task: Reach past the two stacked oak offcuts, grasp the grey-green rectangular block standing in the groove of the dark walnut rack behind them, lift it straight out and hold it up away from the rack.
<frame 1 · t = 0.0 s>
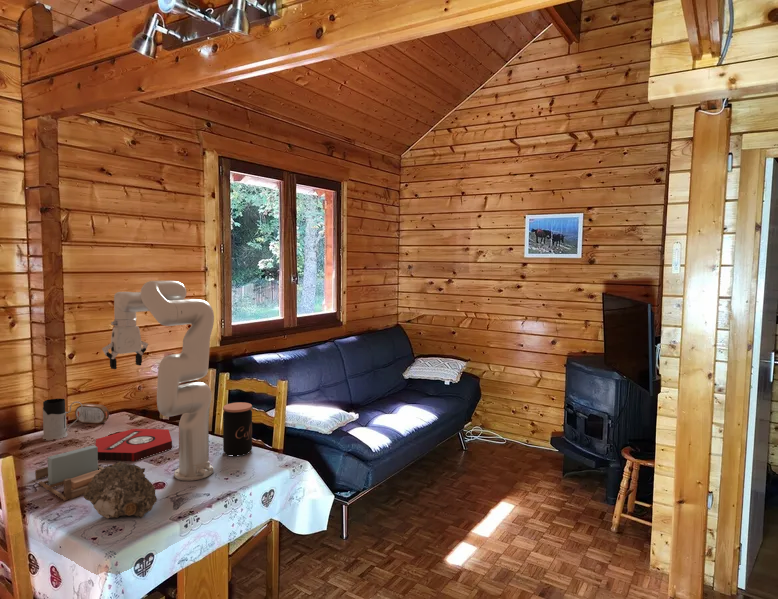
hand: (126, 366, 198), 31 cm above the table, tool pointing down, fingers open, 9 cm apart
grey-green rectangular block: (73, 478, 169), resting in rack
rock: (132, 510, 148), on the table
tin: (91, 423, 227), on the table
red flat hexagonal block: (134, 449, 197), on the table
coffee jar: (237, 452, 195), on the table
rack: (82, 482, 165), on the table
offcut low: (89, 488, 162), on the table
offcut top: (88, 482, 162), point 2 cm above the table
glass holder: (63, 436, 209), on the table
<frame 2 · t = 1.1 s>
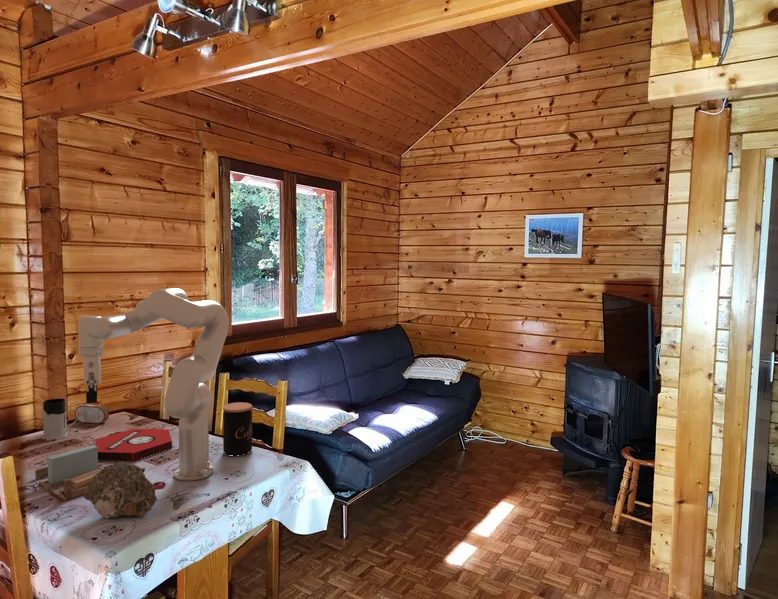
hand: (91, 399, 178), 24 cm above the table, tool pointing down, fingers open, 9 cm apart
offcut low: (89, 488, 162), on the table, touching offcut top
offcut top: (88, 482, 162), point 2 cm above the table, touching offcut low
everything else where it was.
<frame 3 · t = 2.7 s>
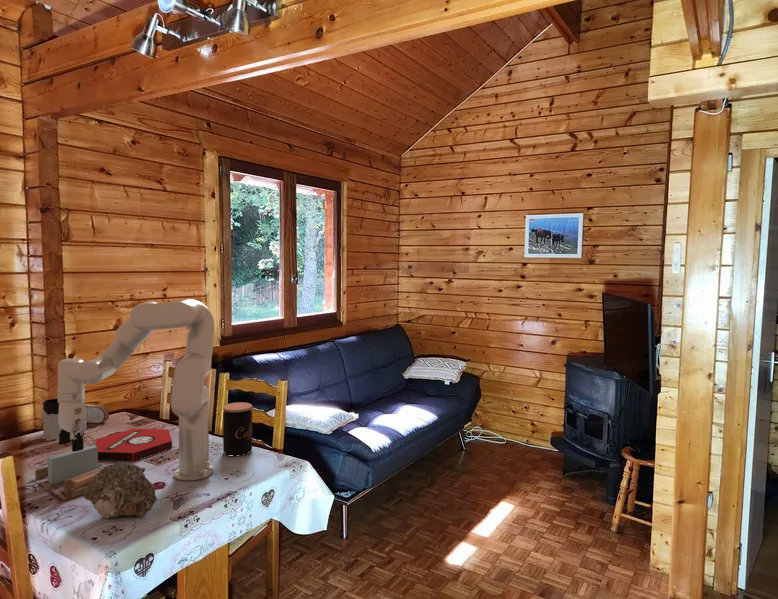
hand: (71, 447, 168), 11 cm above the table, tool pointing down, fingers open, 9 cm apart
nothing on the table moved.
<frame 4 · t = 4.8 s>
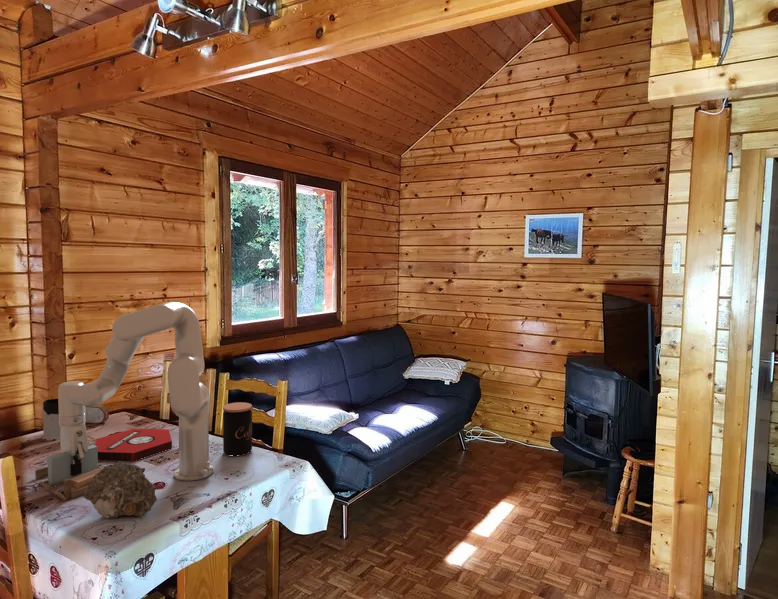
hand: (73, 472, 169), 2 cm above the table, tool pointing down, fingers closed on grey-green rectangular block, 3 cm apart
grey-green rectangular block: (73, 477, 169), resting in rack, touching gripper
offcut low: (89, 488, 163), on the table
offcut top: (89, 481, 162), point 2 cm above the table
everything else where it was.
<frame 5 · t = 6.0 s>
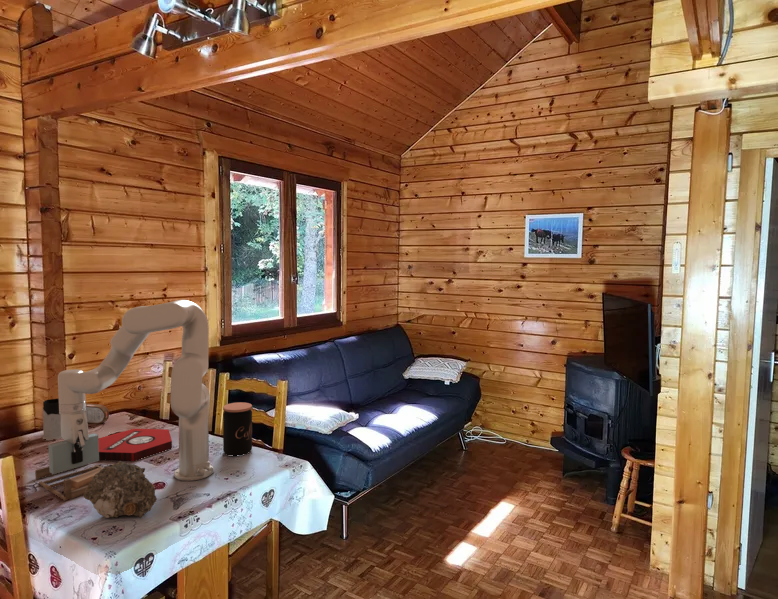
hand: (74, 461, 168), 6 cm above the table, tool pointing down, fingers closed on grey-green rectangular block, 3 cm apart
grey-green rectangular block: (75, 466, 169), point 4 cm above the table, touching gripper
offcut low: (89, 488, 163), on the table, touching offcut top
offcut top: (88, 481, 163), point 2 cm above the table, touching offcut low
everything else where it was.
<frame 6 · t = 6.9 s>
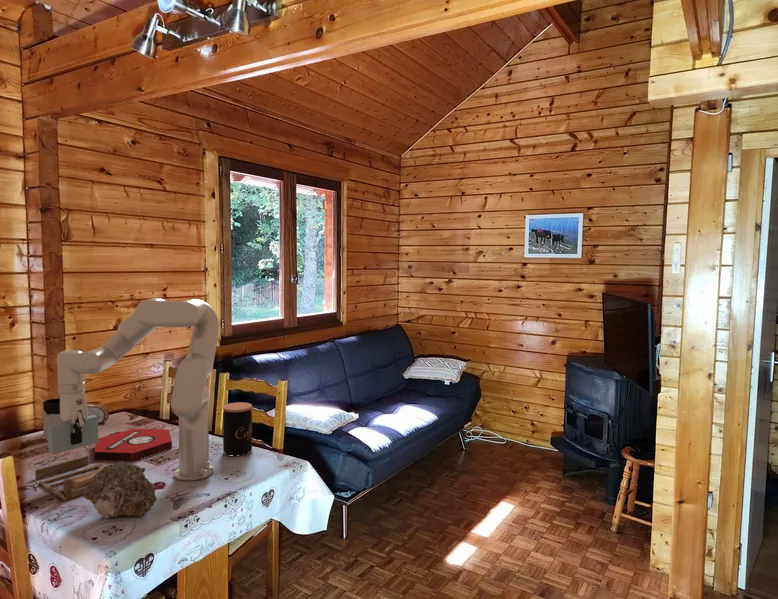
hand: (74, 442, 168), 12 cm above the table, tool pointing down, fingers closed on grey-green rectangular block, 3 cm apart
grey-green rectangular block: (74, 447, 168), point 10 cm above the table, touching gripper
everything else where it was.
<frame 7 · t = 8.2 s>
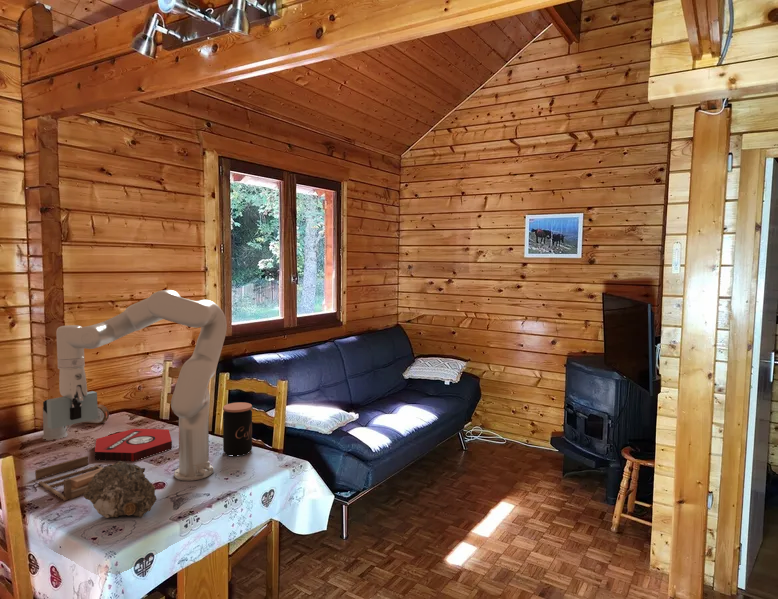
hand: (73, 417, 168), 21 cm above the table, tool pointing down, fingers closed on grey-green rectangular block, 3 cm apart
grey-green rectangular block: (73, 422, 168), point 19 cm above the table, touching gripper
offcut low: (89, 488, 163), on the table
offcut top: (89, 481, 163), point 2 cm above the table
everything else where it was.
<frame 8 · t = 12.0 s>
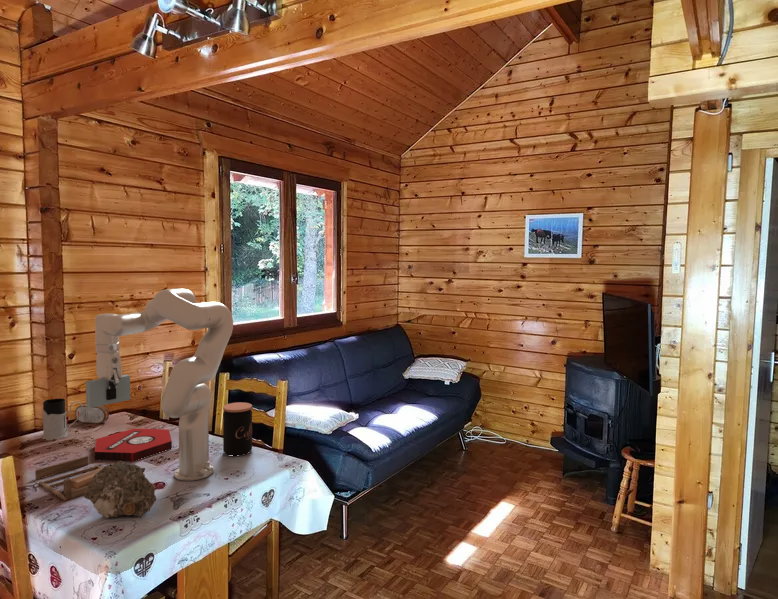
hand: (108, 398, 183), 23 cm above the table, tool pointing down, fingers closed on grey-green rectangular block, 3 cm apart
grey-green rectangular block: (108, 402, 183), point 21 cm above the table, touching gripper
offcut low: (89, 488, 163), on the table, touching offcut top
offcut top: (89, 481, 162), point 2 cm above the table, touching offcut low
everything else where it was.
at the end: grey-green rectangular block point 21.3 cm above the table; the gripper is holding grey-green rectangular block; offcut top moved 0.8 cm from its start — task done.
